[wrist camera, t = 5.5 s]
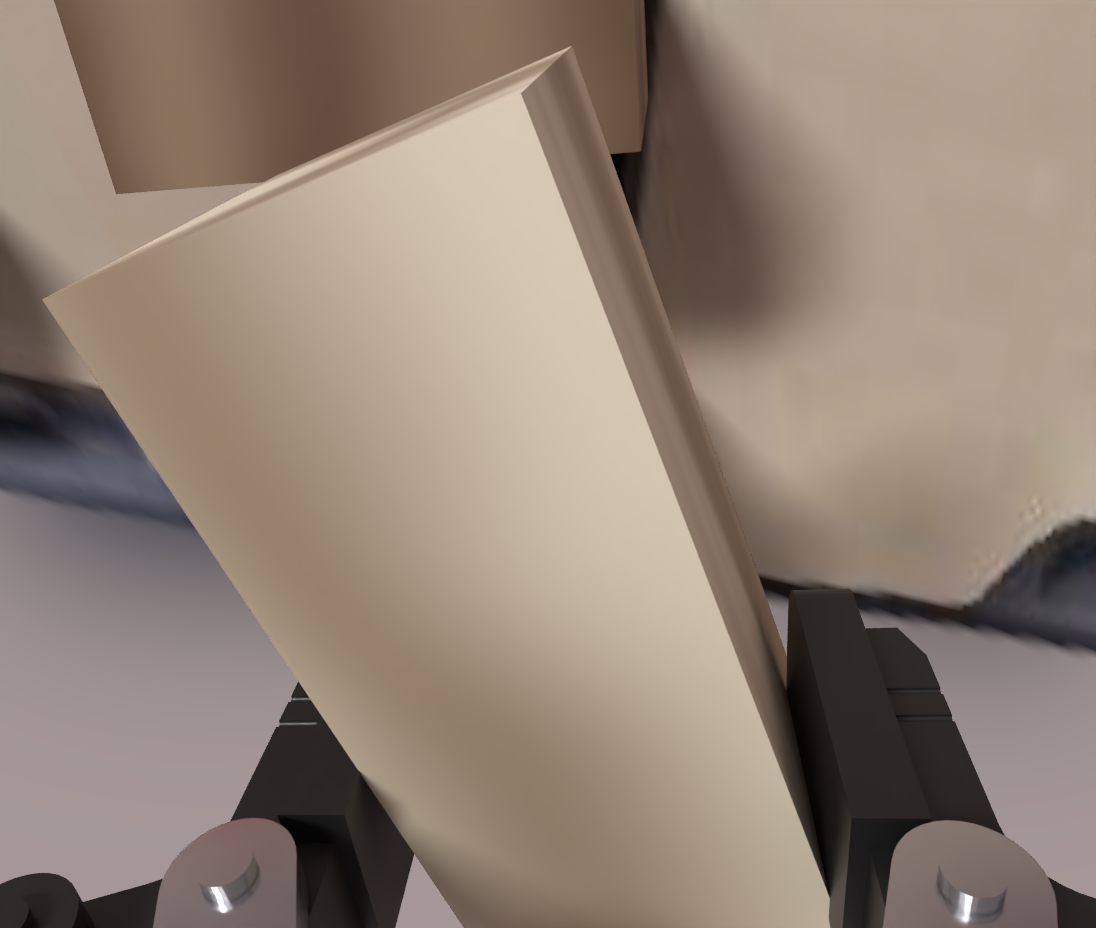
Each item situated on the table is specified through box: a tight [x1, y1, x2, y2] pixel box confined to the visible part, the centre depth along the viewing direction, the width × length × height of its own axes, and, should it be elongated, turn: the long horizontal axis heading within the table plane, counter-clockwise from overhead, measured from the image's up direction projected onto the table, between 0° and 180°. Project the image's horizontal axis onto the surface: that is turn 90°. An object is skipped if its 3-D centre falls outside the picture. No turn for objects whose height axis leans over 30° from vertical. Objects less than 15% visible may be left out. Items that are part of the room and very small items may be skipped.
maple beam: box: [42, 46, 830, 928], centre depth 11 cm, size 4×14×5 cm, turn 22°
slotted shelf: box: [54, 0, 648, 194], centre depth 25 cm, size 12×16×9 cm
